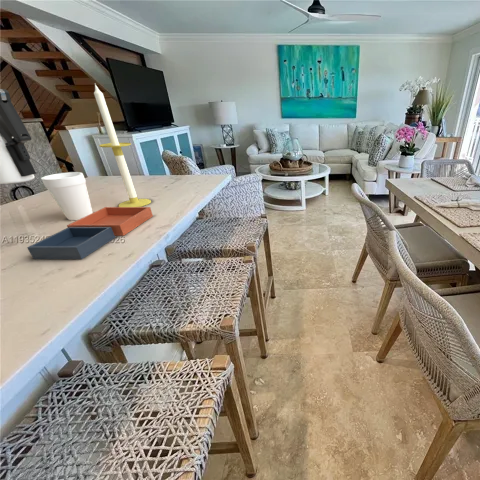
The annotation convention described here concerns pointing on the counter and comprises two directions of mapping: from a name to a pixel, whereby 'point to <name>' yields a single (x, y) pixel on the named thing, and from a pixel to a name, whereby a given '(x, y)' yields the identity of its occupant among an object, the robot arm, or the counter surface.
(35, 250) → the can bin
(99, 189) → the counter surface
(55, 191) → the foam cup
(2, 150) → the can
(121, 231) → the bin
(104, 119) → the candle
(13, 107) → the robot arm
